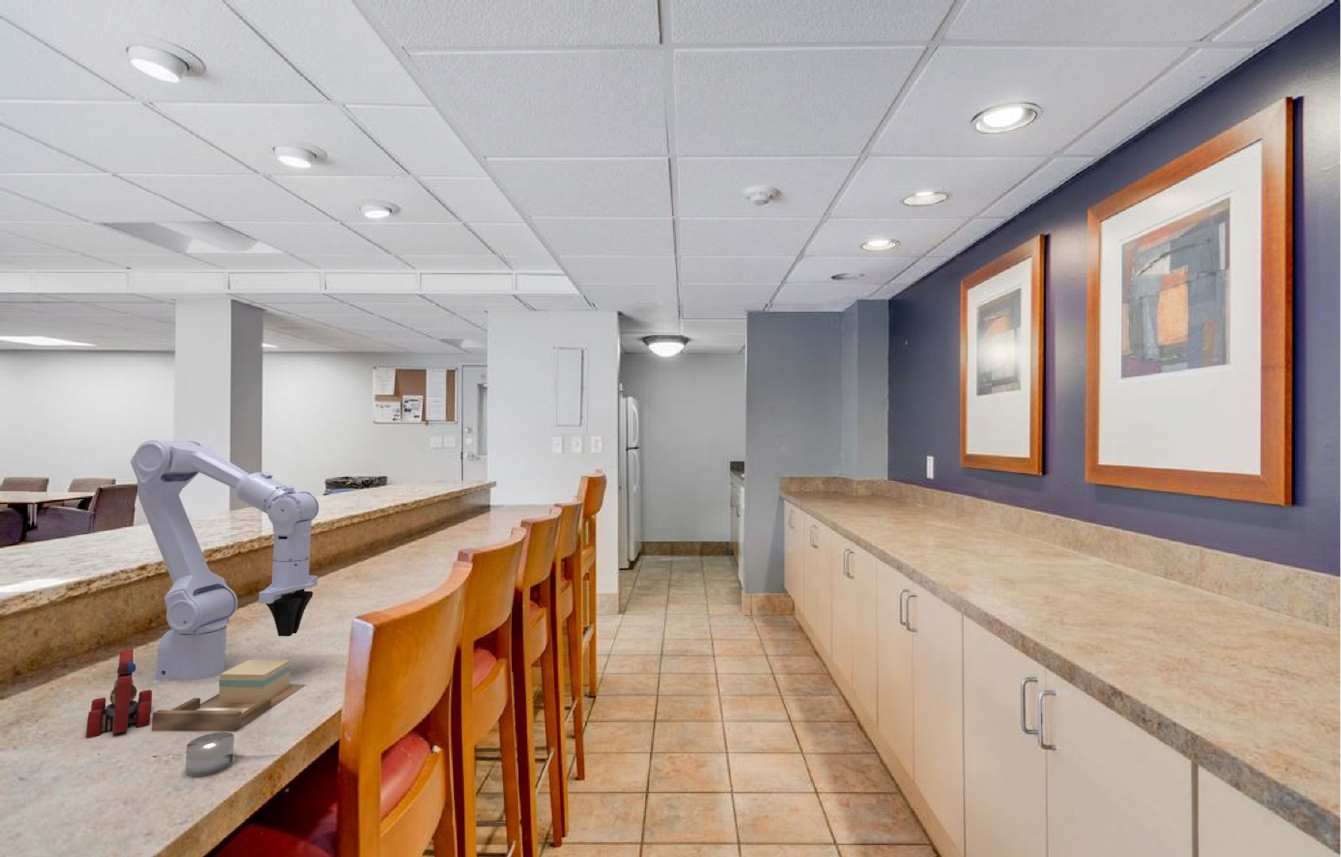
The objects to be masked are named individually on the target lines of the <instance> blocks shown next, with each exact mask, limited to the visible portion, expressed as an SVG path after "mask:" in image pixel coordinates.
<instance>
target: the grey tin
mask: <svg viewBox="0 0 1341 857" xmlns="http://www.w3.org/2000/svg"><path fill="white" fill-rule="evenodd" d="M234 746H235V735H234V733H233V732H232V733H231V732H214V733H213V732H212V733H208V734H204V735H201V736H198V737H196V738H194V739H192V740H191V741H189V742H188V743H187V745H186V754H185V755H186V756H185V758H186V759H185V775H186V777H189V778H203V777H209V776H214V775H216V774H219V773H222V772H223V771H226V770H227V769H229V768H230V767H231V766H232V765H233V763H234Z"/></svg>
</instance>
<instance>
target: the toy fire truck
mask: <svg viewBox="0 0 1341 857" xmlns="http://www.w3.org/2000/svg"><path fill="white" fill-rule="evenodd" d="M136 669H137V667H136V664H135V663H134V649H133V648H131V649H125V650H121V651H120V652H119V657H118V667H117V670H116V673H117V678H116V680H115V681H114V684H113V689H112V690H111V692H110V693H109V701H110V704H108V705H106V702H107V700H106V699H107V698H106V697H99V698H95V699H92V701H91V707H90V711H89V712H88V714H87V722H86V733H85V738H86V739H87V738H93V737H99V736H100V735H102V733H107V732H110V731H111V730H112V731H111V732H112V733H113V734H120V733H125V732H127V730H128V724H129V723H134V722H135V728H144V727H146V726H147V727H148V726H149V725H150V723H151V722H150V721H151V713H152V703H153V702H152V701H153V691H152V689H146V690H142V691H140V692H138V689H137V687H136V686H135V685H134V679H133V673H135V671H136ZM137 694H138V701H137V700H135V698H136V696H137Z"/></svg>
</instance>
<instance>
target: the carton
mask: <svg viewBox="0 0 1341 857" xmlns="http://www.w3.org/2000/svg"><path fill="white" fill-rule="evenodd" d="M290 672H291V660H290V659H248V660H246V661H244V662H242V663H240V664H237V665H236V666H234V667H232V668H230V669H228V670H225V671H223V672H221V673H219V682H218V687H219V690H218V691H219V692H218V694H219V703H259V702H260V701H262V700H264V699H270V698H272V697H273V696H275V695H276V694H278V693H279V692H281V691H283V690H284V689H286V688H287V687H289V684H290Z"/></svg>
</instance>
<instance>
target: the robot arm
mask: <svg viewBox="0 0 1341 857" xmlns="http://www.w3.org/2000/svg"><path fill="white" fill-rule="evenodd" d="M130 465H131V467H132V470H133V472H134V475H135V477H136V480H137V484H136V486H137V497H138V500H139V503H140V505H141V508H142V510H143V513H144V515H145V518H146V520H147V522H148V524H149V527H150V530H151V532H152V534H153V537H154V539H155V542H156V544H157V546H158V549H159V553H160V554H161V557H162V560H163V561H164V565H165V567H166V569H167V572H168V574H169V576H170V579H171V581H172V584H173V585H172V586H171V587H170V589H169V591H167V593H166V594H165V596H164V598H163V599H164V602H165V605H166V615H165V616H166V622H167V624H168V626H169V627H170V628H171V629H169V630H168V631H167V632H166V633H164V634H163V636H162V637H161V639H160V641H159V643H158V646H157V652H156V653H157V654H156V655H157V656H156V657H157V658H156V672H155V673H156V674H155V680H154V681H152V683H151V685H153V684H156V683H158V682H160V681H162V680H164V679H165V680H179V681H195V680H201V679H206V678H210V677H213V676H216V675H220V674H222V673H224V672H225V664H226V663H225V662H226V643H227V639H226V638H227V628H228V627H227V625H228V624H230V618H232V616H234V614H235V613H236V611H237V610H238V605H239V601H238V597H237V593H235V591H233V590H232V588H230V587H229V585H227V582H226V580H225V578H224V577H222V576H220V575H219V574H216V573H214V572H213V571H211V570H210V567H209V565H208V563H207V561H206V558H205V556H204V554H203V551H202V548H201V546H200V544H199V541H198V539H197V535H196V534H195V532H194V528H193V527H192V523H191V522H190V519H189V517H188V514H187V512H186V510H185V507H184V504H183V503H182V500H181V497H180V494H181V492H182V490H183V488H185V487H187V485H189V484H190V483H191V481H193V480H194V479H195V478H196V476H198V475H199V473H200V474H202V475H205V476H206V477H209V478H211V479H213V480H215V481H217V482H219V483H221V484H224V485H226V486H228V487H230V488H233V489H234V490H236V495H237V496H236V497H237V499H239V500H241V501H243V502H245V503H246V504H248V505H249V506H251V507H253V508H255V509H257V510H259V511H261V512H263V513H265V514H267V517H268V519H269V521H270V523H271V524H272V533H274V536H273V551H272V552H273V555H272V572H271V584H270V585H268V587H266V588H265V589H263V590H261V591H259V592H258V604H265V605H266V606H267V608H268V609H269V610H270V612H271V614H272V617H273V620H274V623H275V627H276V632H277V636H278V637H291V636H292V635H293V634H297V633H298V630H299V628H300V625H301V621H302V618H303V615H304V613H305V610H306V608H307V606H308V605H309V602H310V601H311V599H312V598H313V595H314V592H313V591H311V590H310V591H309V590H308V591H307V590H306V589H312V588H315V587H316V586H318V577H319V576H318V575H311V574H310V559H311V558H310V557H311V541H312V540H311V539H312V538H311V537H312V521H313V520H314V519H315V518H316V517H317V516H318V514H319V510H320V504H319V501H318V499H317V497H316V496H314V495H313V494H312V493H311V492H309V491H298V492H296V491H295V487H294V486H292V485H285V484H283V483H281V482H279V481H278V480H276V479H273V475H274V474H271V473H270V472H266V471H265V472H261V471H260V472H259V471H257V472H253V473H248V472H247V471H245V470H243V469H242V468H240V467H238V466H237V465H236V464H234V463H232V462H230V461H229V460H227V459H226V458H224V457H222V456H221V455H219V454H217V453H216V452H214V451H213V449H212V448H211V447H209V446H206V445H204V444H201V443H200V442H198V441H193V440H190V441H188V440H187V441H172V440H171V441H169V440H168V441H167V440H161V441H160V440H159V439H151V440H147V441H145V442H142V443H141V444H139V446H138V448H136V451H135V453H134V454H133V456H132V457H131V459H130Z"/></svg>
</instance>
